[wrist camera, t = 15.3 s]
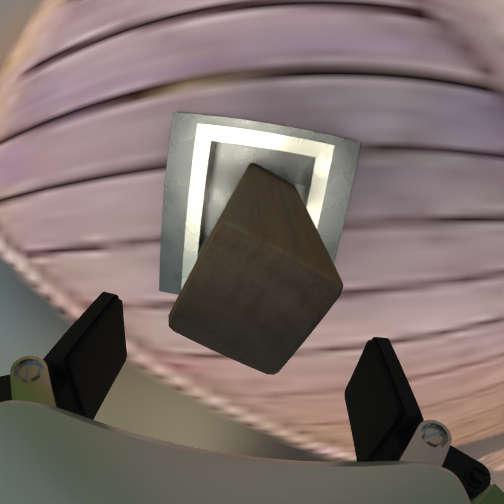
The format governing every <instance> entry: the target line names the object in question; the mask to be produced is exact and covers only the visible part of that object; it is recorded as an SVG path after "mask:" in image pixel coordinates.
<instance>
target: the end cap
mask: <svg viewBox="0 0 504 504" xmlns="http://www.w3.org/2000/svg"><path fill="white" fill-rule="evenodd" d="M360 145H361V142H357V141H353V140H349V139H345V138H341V137H336V136H332V135H327V134H323V133H318V132H313V131H308V130H303V129H298V128H293V127H287V126H281V125H276V124H270V123H263V122H257V121H250V120H243V119H235V118H227V117H219V116H209V115H199V114H188V113H175V112H173V118H172V125H171V133H170V141H169V150H168V159H167V168H166V179H165V190H164V202H163V216H162V232H161V252H160V282H159V291H162V292H168V293H173V294H178V295H179V294H180V292H181V290H182V288H183V286H184V284H185V282H186V280H187V278H188V276H189V274H190V272H191V270H192V268H193V266H194V264H195V263H196V261H197V259H198V257H199V255H200V253H201V251H202V249H203V247H204V245H205V243H206V242H207V240H208V238H209V236H210V234H211V232H212V230H213V228H214V227H215V225H216V223H217V221H218V219H219V217H220V216H221V214H222V212H223V210H224V208H225V206H226V205H227V203H228V201H229V199H230V197H231V195H232V194H233V192H234V190H235V188H236V186H237V185H238V183H239V181H240V179H241V178H242V176H243V174H244V172H245V170H246V169H247V167H248V165H250V164H251V163H255V164H257V165H259V166H261V167H262V168H264V169H266V170H268V171H269V172H271V173H273V174H275V175H276V176H278V177H280V178H282V179H283V180H285V181H287V182H289V183H290V184H292V185H294V186H295V188H296V189H297V191H298V193H299V195H300V196H301V198H302V200H303V202H304V204H305V206H306V208H307V210H308V212H309V214H310V216H311V218H312V220H313V222H314V224H315V226H316V228H317V230H318V232H319V234H320V236H321V238H322V240H323V243H324V245H325V247H326V249H327V251H328V253H329V255H330V257H331V259H332V261H333V263H334V260H335V256H336V252H337V248H338V244H339V240H340V236H341V232H342V228H343V224H344V220H345V216H346V212H347V207H348V203H349V199H350V194H351V189H352V185H353V180H354V175H355V171H356V166H357V161H358V156H359V151H360Z"/></svg>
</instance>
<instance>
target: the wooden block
mask: <svg viewBox="0 0 504 504" xmlns="http://www.w3.org/2000/svg"><path fill="white" fill-rule="evenodd" d="M342 289H343V283H342V281H341V278H340V276H339V274H338V272H337V270H336V268H335V266H334V263H333V261H332V259H331V257H330V255H329V253H328V251H327V249H326V247H325V245H324V243H323V240H322V238H321V236H320V234H319V232H318V230H317V228H316V226H315V224H314V222H313V220H312V218H311V216H310V214H309V212H308V210H307V208H306V206H305V204H304V202H303V200H302V198H301V196H300V195H299V193H298V191H297V189H296V188H295V186H294V185H292V184H290V183H289V182H287V181H285V180H283V179H282V178H280V177H278V176H276V175H275V174H273V173H271V172H269V171H268V170H266V169H264V168H262V167H261V166H259V165H257V164H255V163H251V164H250V165H248V167H247V169H246V170H245V172H244V174H243V176H242V178H241V179H240V181H239V183H238V185H237V186H236V188H235V190H234V192H233V194H232V195H231V197H230V199H229V201H228V203H227V205H226V206H225V208H224V210H223V212H222V214H221V216H220V217H219V219H218V221H217V223H216V225H215V227H214V228H213V230H212V232H211V234H210V236H209V238H208V240H207V242H206V243H205V245H204V247H203V249H202V251H201V253H200V255H199V257H198V259H197V261H196V263H195V264H194V266H193V268H192V270H191V272H190V274H189V276H188V278H187V280H186V282H185V284H184V286H183V288H182V290H181V292H180V294H179V296H178V298H177V300H176V302H175V304H174V306H173V308H172V310H171V312H170V314H169V327H170V328H171V329H172V330H173V331H175V332H177V333H179V334H181V335H183V336H185V337H187V338H189V339H191V340H193V341H195V342H197V343H199V344H201V345H203V346H205V347H207V348H209V349H211V350H214V351H216V352H218V353H220V354H222V355H224V356H227V357H229V358H231V359H233V360H236V361H238V362H240V363H242V364H245V365H247V366H249V367H252V368H254V369H256V370H259V371H261V372H263V373H266V374H272V375H274V374H276V373H278V372H279V371H280V370H281V368H282V367H283V366H284V365H285V364H286V363H287V361H288V360H289V359H290V358H291V357H292V355H293V354H294V353H295V352H296V351H297V349H298V348H299V347H300V346H301V345H302V343H303V342H304V341H305V340H306V338H307V337H308V336H309V335H310V334H311V332H312V331H313V330H314V329H315V327H316V326H317V325H318V323H319V322H320V321H321V320H322V318H323V317H324V316H325V315H326V313H327V312H328V311H329V309H330V308H331V307H332V305H333V304H334V303H335V302H336V300H337V299H338V298H339V296H340V294H341V291H342Z"/></svg>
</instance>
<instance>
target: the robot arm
mask: <svg viewBox="0 0 504 504" xmlns="http://www.w3.org/2000/svg"><path fill="white" fill-rule="evenodd" d="M126 357H127V350H126V341H125V330H124V318H123V304H122V300H120V299H119V297H118V296H117V295H115V294H111V293H107V292H103V293H101V294H100V296H99V297H98V298H97V299H96V300H95V301H94V302H93V303H92V304H91V305H90V307H89V308H88V309H87V310H86V311H85V312H84V313H83V314H82V315H81V317H80V318H79V319H78V320H77V321H76V322H75V323H74V324H73V325H72V326H71V327H70V328H69V329H68V331H67V332H66V333H65V334H64V335H63V336H62V338H61V339H60V340H59V341H58V342H57V343H56V345H55V346H54V347H53V348H52V349H51V351H50V352H49V353H48V354H47V355H46V357H45V358H44V359H41V358H39V357H36V356H25V357H22V358H20V359H18V360H17V361H15V362H14V364H13V365H12V367H11V370H10V375H6V376H1V377H0V504H504V492H503V491H502V490H501V489H500V488H499V487H498V486H497V485H496V484H493V485H491V484H490V480H491V478H490V473H489V471H488V469H487V468H486V466H484V465H483V464H482V463H480V462H478V461H476V460H475V459H473V458H471V457H469V456H468V455H466V454H464V453H463V452H461V451H459V450H458V449H456V448H454V447H452V446H451V445H450V444H451V440H452V438H451V433H450V431H449V430H448V428H447V427H446V426H445V425H443V424H442V423H441V422H438V421H436V420H425V421H424V420H423V417H422V414H421V411H420V409H419V406H418V404H417V402H416V399H415V397H414V394H413V392H412V390H411V387H410V385H409V383H408V380H407V378H406V376H405V374H404V371H403V369H402V367H401V365H400V362H399V360H398V358H397V356H396V354H395V351H394V349H393V347H392V345H391V343H390V341H389V339H388V338H380V337H373V338H372V340H369V341H368V342H367V343H366V346H365V348H364V350H363V353H362V355H361V357H360V359H359V362H358V364H357V366H356V368H355V370H354V373H353V375H352V377H351V379H350V381H349V383H348V385H347V387H346V390H345V401H346V406H347V411H348V416H349V421H350V426H351V431H352V436H353V441H354V446H355V452H356V457H357V462H311V461H292V460H278V459H268V458H267V459H266V458H257V457H249V456H241V455H234V454H227V453H221V452H215V451H209V450H204V449H199V448H194V447H189V446H184V445H179V444H175V443H171V442H166V441H162V440H158V439H154V438H151V437H146V436H143V435H140V434H136V433H133V432H129V431H126V430H123V429H120V428H117V427H113V426H110V425H107V424H104V423H101V422H98V421H95V420H93V419H94V417H95V416H96V413H97V411H98V410H99V408H100V406H101V404H102V402H103V401H104V399H105V397H106V395H107V393H108V391H109V390H110V388H111V386H112V384H113V382H114V381H115V379H116V377H117V375H118V373H119V372H120V370H121V368H122V366H123V364H124V363H125V361H126Z"/></svg>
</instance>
